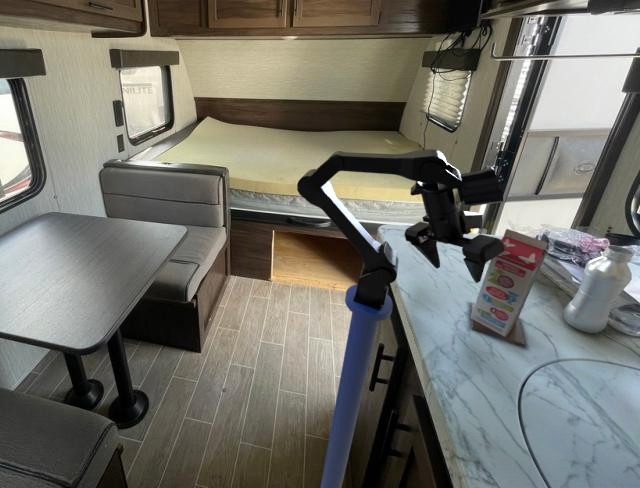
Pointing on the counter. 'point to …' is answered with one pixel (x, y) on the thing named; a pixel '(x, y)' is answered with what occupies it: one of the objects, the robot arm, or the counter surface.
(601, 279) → the plastic bottle
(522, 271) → the juice carton
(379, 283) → the robot arm
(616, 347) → the counter surface
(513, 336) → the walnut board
